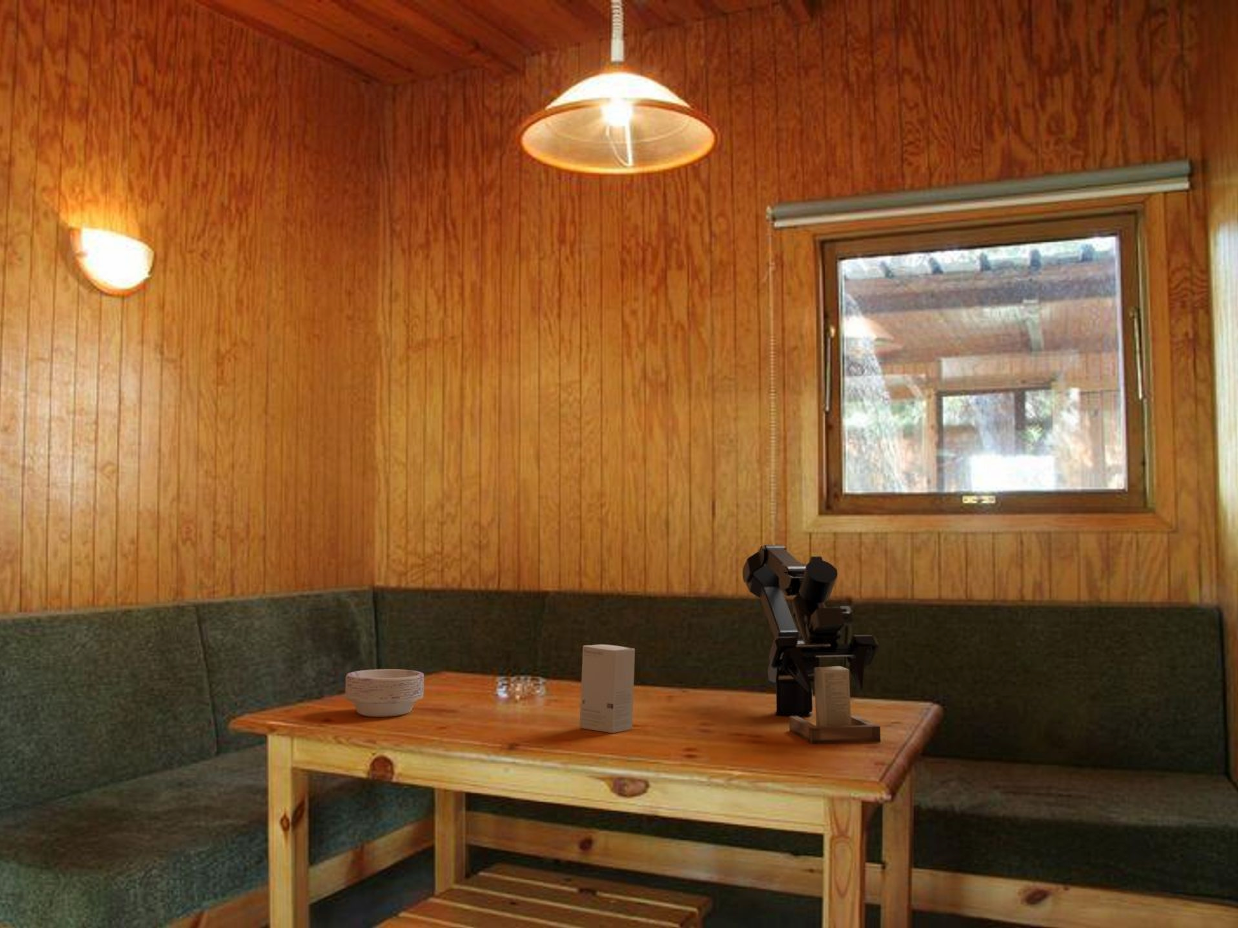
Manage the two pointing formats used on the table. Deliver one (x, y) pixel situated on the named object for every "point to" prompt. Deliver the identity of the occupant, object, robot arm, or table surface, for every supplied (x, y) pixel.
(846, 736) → the walnut u rest
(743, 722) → the table surface
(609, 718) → the skincare box
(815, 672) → the box
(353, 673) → the paper bowls
